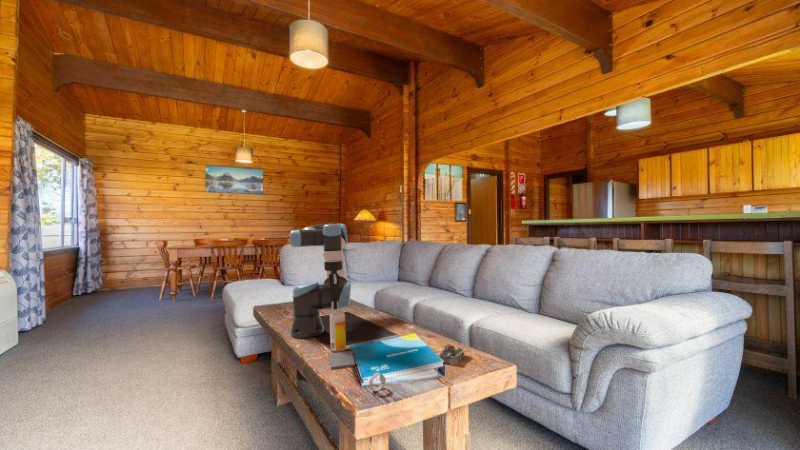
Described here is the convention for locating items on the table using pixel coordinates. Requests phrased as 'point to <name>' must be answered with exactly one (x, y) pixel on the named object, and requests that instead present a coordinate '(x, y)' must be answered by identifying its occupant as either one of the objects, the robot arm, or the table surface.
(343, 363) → the mat
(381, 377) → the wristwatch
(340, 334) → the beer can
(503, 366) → the table surface
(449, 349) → the egg carton
